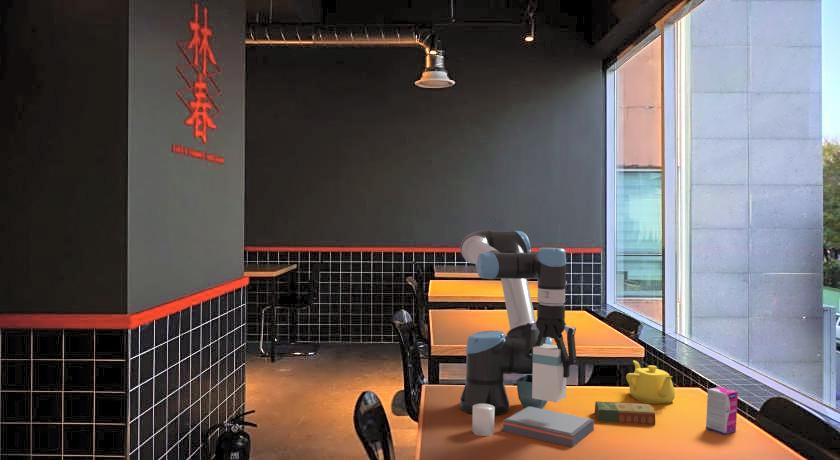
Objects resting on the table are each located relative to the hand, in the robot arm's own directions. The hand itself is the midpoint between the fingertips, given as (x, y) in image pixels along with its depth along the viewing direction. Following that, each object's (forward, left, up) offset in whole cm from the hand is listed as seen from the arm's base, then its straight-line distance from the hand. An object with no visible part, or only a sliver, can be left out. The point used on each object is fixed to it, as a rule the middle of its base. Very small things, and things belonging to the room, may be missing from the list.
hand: (549, 386), depth 172 cm
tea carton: (0, 0, -3) cm, 3 cm away
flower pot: (-12, +17, -13) cm, 24 cm away
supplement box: (+39, +30, -13) cm, 51 cm away
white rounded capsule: (-14, -12, -12) cm, 22 cm away
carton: (+14, +23, -13) cm, 30 cm away
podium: (0, 0, -12) cm, 12 cm away
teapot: (+14, +49, -13) cm, 53 cm away
